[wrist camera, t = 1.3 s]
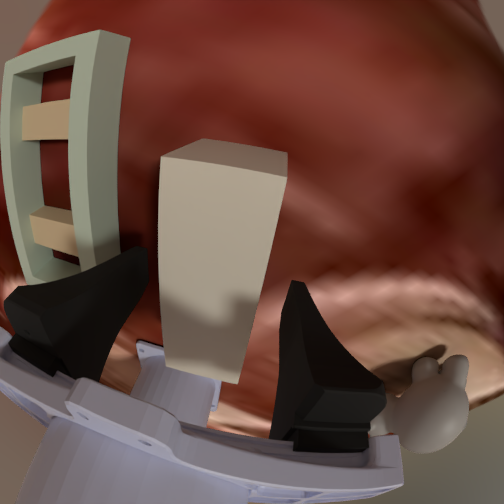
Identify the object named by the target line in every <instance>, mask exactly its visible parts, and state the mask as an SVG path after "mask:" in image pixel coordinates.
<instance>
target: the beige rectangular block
mask: <svg viewBox="0 0 504 504" xmlns="http://www.w3.org/2000/svg"><path fill="white" fill-rule="evenodd" d="M286 181H287V153H285V152H281V151H276V150H271V149H266V148H260V147H255V146H249V145H244V144H238V143H231V142H225V141H218V140H211V139H201V140H198V141H196V142H193V143H191V144H188V145H186V146H184V147H181V148H179V149H177V150H174V151H172V152H170V153H168V154H165V155H163V156H161V163H160V180H159V206H158V266H159V292H160V309H161V322H162V334H163V345H164V354H165V363H166V366H167V367H170V368H173V369H177V370H181V371H184V372H188V373H192V374H195V375H199V376H203V377H207V378H212V379H216V380H220V381H225V382H229V383H234V384H238V381H239V377H240V373H241V369H242V365H243V361H244V357H245V353H246V349H247V345H248V342H249V338H250V334H251V330H252V326H253V322H254V317H255V313H256V309H257V305H258V301H259V297H260V293H261V289H262V285H263V281H264V276H265V272H266V268H267V264H268V260H269V255H270V251H271V247H272V242H273V238H274V234H275V230H276V225H277V221H278V216H279V212H280V208H281V203H282V199H283V194H284V190H285V185H286Z"/></svg>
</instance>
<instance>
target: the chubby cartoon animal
mask: <svg viewBox="0 0 504 504" xmlns="http://www.w3.org/2000/svg"><path fill="white" fill-rule="evenodd" d="M468 369H469V362H468V359H467V357H466V356H464V355H453V356H450V357H449V358H447V359H446V360H445V361H444V363H443V366H442V370H440V371H438V370H439V364H438V362H437V360H435V359H433V358H431V357H423V358H420V359H418V360H417V361H416V362H415V363H414V364H413V367H412V385H411V386H410V387H409V388H408V389H407V390H406V391H405V392H404V393H403V394H402V396H401V397H399V398H398V397H396V396H395V395H393V394H390V393H386V399H387V404H386V407H385V408H384V409H383V410H382V412H381V413H380V414H378V415H377V416H376V417H375V418H374V419H373V420H372V421H371V422H370V424H371V430H370V431H369V432H368V433H369V434H370V437H373V436H379V435H385V434H387V433H390V432H393V433H394V435H395V434H397V435H398V437H399V443H400V444H401V445H402V446H403V447H404V448H405V449H407V450H409V451H411V452H415V453H431V452H435V451H437V450H440V449H442V448H444V447H445V446H447V445H448V444H449V443H451V442H452V441H453V440H454V439H455V438H456V437H457V436H458V435H459V434H460V433H461V432H462V431H463V430H464V428H465V427H466V425H467V417H468V412H469V401H468V397H467V394H466V392H465V387H466V381H467V379H466V378H467V374H468Z"/></svg>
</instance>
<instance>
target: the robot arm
mask: <svg viewBox="0 0 504 504" xmlns="http://www.w3.org/2000/svg"><path fill="white" fill-rule="evenodd" d="M148 282H149V274H148V255H147V248H143V247H139V246H136V247H133V248H131V249H129V250H127V251H125V252H123V253H121V254H119V255H117V256H115V257H113V258H111V259H109V260H107V261H105V262H103V263H101V264H99V265H97V266H95V267H92V268H90V269H88V270H86V271H83V272H81V273H78V274H75V275H72V276H69V277H66V278H62V279H59V280H56V281H51V282H47V283H41V284H35V285H26V286H18V287H17V288H16V289H15V290H14V291H13V292H12V293H11V294H10V295H9V296H8V297H7V298H6V299H5V300H4V310H5V312H6V315H7V317H8V319H9V321H10V323H11V325H12V327H13V329H14V331H15V333H16V334H15V335H14V336H13V337H12V336H11V334H10V333H8V332H7V331H6V330H4V329H3V328H2V327H0V391H1V392H2V393H3V394H5V395H6V396H7V397H8V398H9V399H10V400H12V401H13V402H14V403H15V404H16V405H18V406H19V407H21V409H23V410H24V411H25V412H27V413H28V414H29V415H30V416H32V417H33V418H34V419H36V420H37V421H38V422H40V423H41V424H42V425H44V426H45V427H47V428H48V429H47V431H46V433H45V435H44V437H43V439H42V441H41V443H40V445H39V447H38V449H37V451H36V453H35V456H34V458H33V460H32V462H31V464H30V467H29V469H28V471H27V474H26V476H25V479H24V481H23V484H22V486H21V489H20V491H19V494H18V496H17V499H16V502H15V504H248V502H256V503H275V504H276V503H277V504H304V503H324V502H336V501H347V500H356V499H364V498H371V497H374V496H377V495H379V494H382V493H385V492H388V491H390V490H393V489H395V488H397V487H400V486H402V485H403V484H404V479H403V468H402V459H401V451H400V444H399V437H398V435H397V434H395V435H381V436H373V437H370V438H368V432H369V431H370V430H371V424H370V422H371V421H372V420H373V419H374V418H375V417H376V416H377V415H378V414H380V413H381V412H382V410H383V409H384V408H385V407H386V404H387V399H386V393H385V388H384V385H383V381H382V380H381V379H379V378H378V377H377V376H375V375H374V374H373V373H371V372H370V371H369V370H367V369H366V368H365V367H364V366H363V365H362V364H360V363H359V362H358V361H357V360H356V359H355V358H354V357H353V356H352V355H351V354H350V353H349V352H348V351H347V350H346V349H345V348H344V347H343V345H342V344H341V343H340V342H339V341H338V339H337V338H336V337H335V336H334V334H333V333H332V332H331V330H330V329H329V327H328V326H327V324H326V323H325V321H324V319H323V318H322V316H321V314H320V312H319V311H318V309H317V307H316V305H315V303H314V301H313V299H312V297H311V295H310V293H309V291H308V289H307V287H306V285H305V283H304V282H299V281H294V280H292V281H291V284H290V287H289V290H288V293H287V296H286V300H285V303H284V306H283V309H282V312H281V320H280V329H279V378H278V386H277V393H276V400H275V407H274V413H273V419H272V425H271V430H270V435H269V439H264V438H257V437H251V436H245V435H239V434H234V433H228V432H223V431H219V430H214V429H210V428H206V425H207V421H208V417H209V413H210V411H216V410H217V405H218V399H219V393H220V388H221V382H222V381H220V380H216V379H212V378H207V377H203V376H199V375H195V374H192V373H188V372H184V371H181V370H177V369H173V368H170V367H167V366H166V363H165V354H164V348H163V347H160V346H157V345H153V344H150V343H147V342H144V341H138V342H137V343H136V347H137V352H138V356H139V361H140V365H141V372H140V374H139V376H138V378H137V380H136V382H135V384H134V387H133V389H132V391H131V393H130V395H128V394H125V393H123V392H120V391H118V390H115V389H113V388H110V387H108V386H106V385H103V384H101V383H99V380H100V377H101V374H102V371H103V368H104V365H105V362H106V360H107V357H108V355H109V352H110V350H111V348H112V345H113V343H114V341H115V339H116V337H117V335H118V333H119V331H120V329H121V327H122V326H123V324H124V323H125V321H126V320H127V318H128V317H129V315H130V314H131V312H132V311H133V309H134V307H135V306H136V304H137V303H138V301H139V300H140V298H141V297H142V295H143V293H144V291H145V288H146V286H147V284H148Z"/></svg>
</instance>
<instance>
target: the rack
mask: <svg viewBox="0 0 504 504" xmlns="http://www.w3.org/2000/svg"><path fill="white" fill-rule="evenodd" d="M130 40H131V38H128V37H125V36H122V35H118V34H115V33H111V32H107V31H103V30H97V31H93V32H88V33H84V34H81V35H77V36H73V37H70V38H67V39H63V40H60V41H57V42H54V43H51V44H48V45H46V46H43V47H40V48H37V49H35V50H32V51H30V52H27V53H25V54H23V55H20V56H18V57H16V58H14V59H11V60H9V61H7V62H6V63H5V69H4V77H3V86H2V98H1V119H0V138H1V160H2V172H3V181H4V189H5V196H6V203H7V208H8V214H9V219H10V224H11V229H12V233H13V237H14V241H15V245H16V249H17V253H18V256H19V260H20V263H21V267H22V270H23V273H24V276H25V279H26V282H27V284H29V285H35V284H41V283H47V282H51V281H56V280H59V279H62V278H66V277H69V276H72V275H75V274H78V273H81V272H83V271H86V270H88V269H90V268H92V267H95V266H97V265H99V264H101V263H103V262H105V261H107V260H109V259H111V258H113V257H115V256H117V255H119V254H121V251H120V239H119V224H118V203H117V153H118V132H119V118H120V106H121V97H122V88H123V81H124V74H125V67H126V61H127V55H128V50H129V45H130ZM71 65H74V70H73V77H72V86H71V96H70V99H67V100H59V101H52V102H46V103H41V92H42V82H43V74H44V72H46V71H50V70H54V69H58V68H62V67H66V66H71ZM46 139H68V160H69V182H70V196H71V206H72V211H69V210H64V209H59V208H54V207H49V206H44V199H43V190H42V179H41V165H40V140H46ZM52 249H55V250H58V251H61V252H64V253H67V254H71V255H74V256H77V257H79V261H80V266H79V265H75V264H72V263H69V262H66V261H63V260H60V259H57V258H55V257H54V256H53V251H52Z"/></svg>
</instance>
